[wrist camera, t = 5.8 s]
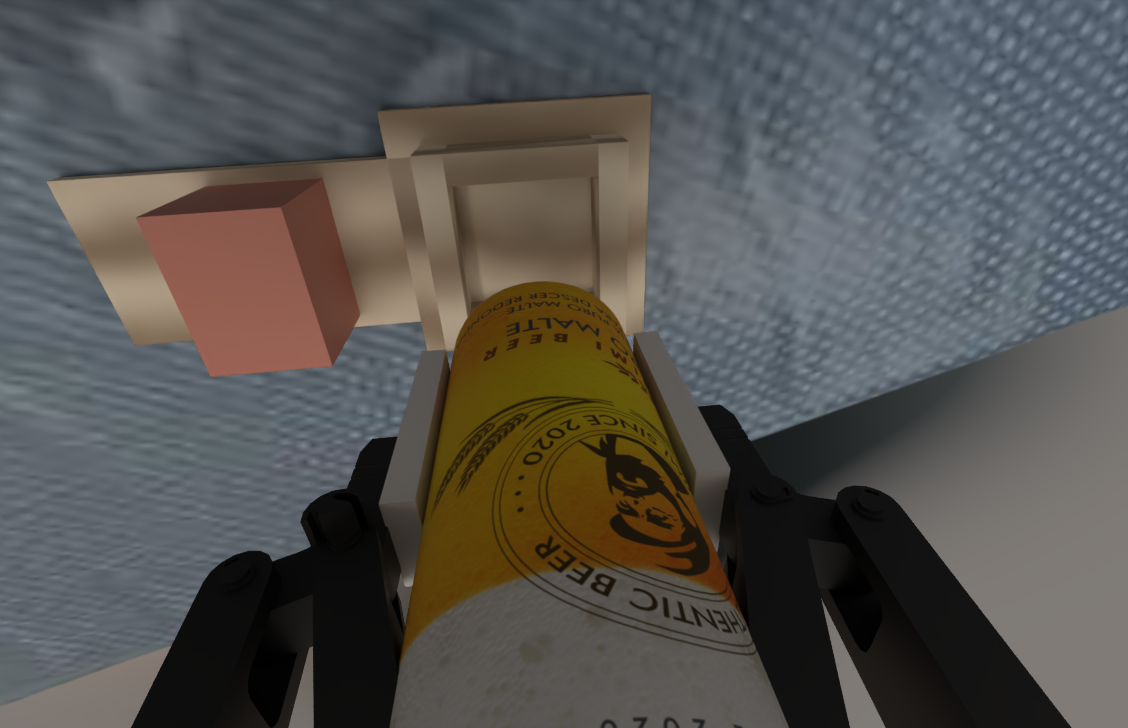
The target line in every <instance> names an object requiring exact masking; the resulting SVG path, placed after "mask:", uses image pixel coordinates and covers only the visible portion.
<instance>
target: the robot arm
mask: <svg viewBox="0 0 1128 728" xmlns="http://www.w3.org/2000/svg"><path fill="white" fill-rule="evenodd" d="M633 355H634V357H635V359H636V362H637V364H638V367H639V369H640V371H641V374H642V376H643V378H644V381H645V383H646V386H647V388H648V390H649V393H650V395H651V398H652V400H653V402H654V405H655V407H656V409H657V412H658V414H659V417H660V419H661V421H662V424H663V426H664V429H665V431H666V433H667V436H668V438H669V440H670V443H671V445H672V448H673V450H674V452H675V455H676V457H677V460H678V462H679V464H680V467H681V469H682V471H683V474H684V476H685V479H686V481H687V483H688V486H689V488H690V491H691V493H692V495H693V498H694V500H695V503H696V505H697V507H698V510H699V512H700V514H701V517H702V519H703V522H704V524H705V526H706V529H707V531H708V534H709V536H710V538H711V541H712V543H713V545H714V548H715V550H716V552H717V551H718V545H719V538H720V537H721V540H722V542H723V544H724V547H725V549H726V551H727V553H726V559H725V565H724V572H725V574H726V576H727V579H728V581H729V584H730V586H731V588H732V591H733V593H734V596H735V598H736V600H737V603H738V605H739V607H740V610H741V612H742V615H743V617H744V619H745V622H746V624H747V627H748V629H749V632H750V635H751V638H752V640H753V643H754V645H755V647H756V650H757V652H758V655H759V657H760V659H761V662H762V664H763V667H764V669H765V671H766V674H767V676H768V678H769V681H770V683H771V686H772V688H773V690H774V693H775V695H776V698H777V700H778V702H779V705H780V707H781V710H782V712H783V714H784V717H785V719H786V722H787V724H788V726H789V728H850V726H849V721H848V717H847V713H846V708H845V704H844V700H843V695H842V690H841V686H840V681H839V677H838V672H837V668H836V663H835V659H834V654H833V650H832V645H831V641H830V636H829V632H828V627H827V623H826V618H825V614H824V609H823V605H822V601H823V603H824V605H825V606H826V608H827V611H828V613H829V615H830V616H831V619H832V621H833V623H834V625H835V626H836V629H837V630H838V632H839V635H840V637H841V639H842V641H843V643H844V645H845V647H846V649H847V651H848V653H849V655H850V657H851V659H852V661H853V663H854V665H855V667H856V669H857V671H858V673H859V675H860V677H861V679H862V681H863V683H864V685H865V687H866V689H867V691H868V693H869V695H870V697H871V699H872V701H873V703H874V705H875V707H876V709H877V711H878V713H879V715H880V717H881V719H882V721H883V723H884V725H885V727H886V728H1071V727H1070V725H1069V724H1068V723H1067V722H1066V720H1065V719H1064V718H1063V716H1062V715H1061V714H1060V712H1059V711H1058V710H1057V709H1056V707H1055V706H1054V705H1053V703H1052V702H1051V701H1050V700H1049V698H1048V697H1047V696H1046V694H1045V693H1044V692H1043V690H1042V689H1041V688H1040V686H1039V685H1038V684H1037V683H1036V681H1035V680H1034V679H1033V677H1032V676H1031V675H1030V674H1029V672H1028V671H1027V670H1026V668H1025V667H1024V666H1023V664H1022V663H1021V662H1020V660H1019V659H1018V658H1017V657H1016V655H1015V654H1014V653H1013V651H1012V650H1011V649H1010V648H1009V646H1008V645H1007V644H1006V642H1005V641H1004V640H1003V638H1002V637H1001V636H1000V635H999V633H998V632H997V631H996V629H995V628H994V627H993V626H992V624H991V623H990V622H989V620H988V619H987V618H986V617H985V615H984V614H983V613H982V611H981V610H980V609H979V608H978V606H977V605H976V603H975V602H974V601H973V600H972V598H971V597H970V596H969V595H968V593H967V592H966V591H965V589H964V588H963V587H962V585H961V584H960V583H959V581H958V580H957V579H956V578H955V576H954V575H953V574H952V572H951V571H950V570H949V569H948V567H947V566H946V565H945V563H944V562H943V561H942V559H941V558H940V557H939V556H938V554H937V553H936V552H935V550H934V549H933V548H932V546H931V545H930V544H929V543H928V541H927V540H926V539H925V537H924V536H923V535H922V534H921V532H920V531H919V530H918V529H917V527H916V526H915V525H914V523H913V522H912V521H911V519H910V518H909V517H908V515H907V514H906V513H905V511H904V510H903V509H902V508H901V507H900V505H899V504H898V503H897V502H896V501H895V500H894V499H893V498H891V497H890V496H888V495H886V494H885V493H883V492H881V491H879V490H876V489H873V488H870V487H866V486H850V487H845V488H844V489H842V490H841V491H840V492H838V495H837V498H836V500H831V499H824V498H817V497H810V496H805V495H801V494H798V493H796V491H795V489H794V488H793V487H792V486H791V485H790V484H789V483H788V482H787V481H785V480H783V479H781V478H779V477H777V476H774V475H771V473H770V472H769V470H768V468H767V467H766V465H765V464H764V462H763V461H762V459H761V457H760V456H759V454H758V452H757V451H756V449H755V448H754V446H753V444H752V443H751V441H750V440H748V436H747V435H746V433H745V432H744V430H743V429H742V427H741V425H740V424H739V422H738V420H737V419H736V417H735V416H734V414H732V413H731V412H730V411H728V410H727V409H725V408H724V407H723V406H721V405H711V406H700V407H697V405H696V403H695V402H694V400H693V398H692V396H691V394H690V392H689V390H688V388H687V387H686V385H685V383H684V381H683V379H682V377H681V375H680V374H679V372H678V370H677V368H676V366H675V364H674V362H673V361H672V359H671V357H670V355H669V353H668V351H667V349H666V348H665V346H664V344H663V342H662V340H661V338H660V336H659V334H658V333H657V331H653V332H641V333H634V344H633ZM449 376H450V368H449V363H448V358H447V352H446V349H444V350H433V351H422V353H421V357H420V360H419V364H418V367H417V371H416V374H415V378H414V381H413V385H412V388H411V392H410V395H409V399H408V402H407V406H406V409H405V413H404V416H403V420H402V424H401V427H400V431H399V434H398V437H387V438H377V439H372V440H371V441H370V442H369V443H368V444H367V445H366V446H365V448H364V449H363V450H362V451H361V452H360V454H359V457H358V460H357V463H356V465H355V469H354V471H353V473H352V476H351V480H350V482H349V484H348V487H347V489H340V490H335V491H331V492H329V493H327V494H324V495H322V496H320V497H319V498H317V499H316V500H315V501H313V502H312V503H310V505H309V506H308V507H307V508H306V510H305V511H304V512H303V515H302V518H301V521H300V522H301V524H302V527H303V529H304V531H305V533H306V536H307V538H308V540H309V542H310V545H311V547H309V548H307V549H305V550H303V551H300V552H298V553H295V554H292V555H289V556H287V557H284V558H281V559H278V560H275V561H273V562H272V560H271V558H270V556H269V555H268V554H266V553H264V552H262V551H247V552H243V553H240V554H236V555H234V556H232V557H230V558H229V559H227V560H225V561H223V562H222V563H220V564H219V565H218V566H217V567H216V568H214V569H213V570H212V571H211V572H210V573H209V575H208V576H207V578H206V579H205V580H204V582H203V584H202V586H201V588H200V590H199V592H198V594H197V596H196V598H195V600H194V602H193V604H192V606H191V608H190V610H189V612H188V614H187V616H186V618H185V620H184V622H183V624H182V626H181V628H180V630H179V632H178V634H177V636H176V638H175V640H174V642H173V644H172V646H171V648H170V650H169V652H168V654H167V656H166V658H165V660H164V662H163V664H162V666H161V668H160V670H159V672H158V674H157V676H156V678H155V680H154V682H153V685H152V686H151V688H150V690H149V692H148V694H147V696H146V698H145V701H144V702H143V705H142V707H141V708H140V711H139V713H138V715H137V717H136V719H135V721H134V723H133V725H132V727H131V728H288V726H289V722H290V719H291V715H292V711H293V707H294V703H295V700H296V696H297V692H298V688H299V684H300V681H301V677H302V673H303V669H304V665H305V662H306V658H307V654H308V650H309V647H312V646H313V683H314V684H313V686H314V687H313V688H314V689H313V691H314V692H313V693H314V728H390V722H391V716H392V711H393V705H394V699H395V693H396V687H397V682H398V667H399V659H400V654H401V648H402V642H403V637H404V631H405V623H404V618H403V612H402V606H401V601H400V598H399V595H398V592H397V588H398V583H399V578H400V573H401V575H402V579H403V582H404V585H405V587H407V586H413V580H414V574H415V569H416V563H417V557H418V552H419V546H420V540H421V535H422V529H423V523H424V518H425V512H426V506H427V501H428V495H429V489H430V484H431V478H432V473H433V467H434V461H435V456H436V450H437V444H438V439H439V433H440V427H441V422H442V416H443V410H444V405H445V399H446V393H447V388H448V382H449ZM821 599H822V600H821Z"/></svg>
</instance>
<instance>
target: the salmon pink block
mask: <svg viewBox="0 0 1128 728" xmlns="http://www.w3.org/2000/svg"><path fill="white" fill-rule="evenodd" d="M136 220H137V222H138V224H139V226H140V228H141V230H142V233H143V235H144V237H145V239H146V241H147V243H148V245H149V247H150V249H151V252H152V254H153V256H154V258H155V260H156V262H157V264H158V266H159V268H160V271H161V273H162V275H163V277H164V279H165V281H166V283H167V285H168V288H169V290H170V292H171V294H172V296H173V298H174V300H175V302H176V304H177V307H178V309H179V311H180V313H181V315H182V317H183V319H184V321H185V324H186V326H187V328H188V330H189V332H190V334H191V336H192V338H193V340H194V343H195V345H196V347H197V349H198V351H199V353H200V355H201V357H202V359H203V362H204V364H205V366H206V368H207V370H208V372H209V374H210V376H211V377H214V376H225V375H236V374H248V373H259V372H271V371H282V370H293V369H305V368H316V367H327V366H333V364H334V362H335V360H336V359H337V357H338V355H339V353H340V351H341V350H342V348H343V346H344V344H345V342H346V341H347V339H348V337H349V335H350V333H351V332H352V330H353V328H354V326H355V324H356V323H357V321H358V319H359V317H360V311H359V308H358V304H357V301H356V297H355V293H354V290H353V286H352V282H351V279H350V275H349V272H348V268H347V264H346V261H345V257H344V253H343V250H342V246H341V243H340V239H339V235H338V232H337V228H336V224H335V221H334V217H333V214H332V210H331V206H330V203H329V199H328V196H327V192H326V188H325V185H324V181H323V178H321V179H306V180H292V181H277V182H262V183H247V184H233V185H218V186H205V187H203V188H201V189H198V190H196V191H194V192H192V193H189V194H187V195H185V196H183V197H180V198H178V199H176V200H174V201H171V202H169V203H167V204H165V205H163V206H160V207H158V208H156V209H154V210H151V211H149V212H147V213H145V214H142V215H140V216H138V217H136Z"/></svg>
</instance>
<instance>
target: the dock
mask: <svg viewBox="0 0 1128 728" xmlns="http://www.w3.org/2000/svg"><path fill="white" fill-rule="evenodd" d="M377 115H378V120H379V124H380V129H381V134H382V139H383V143H384V148H385V153H386V156H378V157H362V158H347V159H332V160H317V161H302V162H287V163H272V164H256V165H241V166H226V167H211V168H196V169H181V170H166V171H150V172H135V173H120V174H105V175H90V176H75V177H60V178H57V179H53V180H50V181H46V182H47V184H48V186H49V187H50V189H51V191H52V193H53V195H54V197H55V199H56V200H57V202H58V204H59V206H60V208H61V210H62V211H63V213H64V215H65V217H66V219H67V221H68V223H69V224H70V226H71V228H72V230H73V232H74V234H75V235H76V237H77V239H78V241H79V243H80V245H81V247H82V248H83V250H84V252H85V254H86V256H87V258H88V259H89V261H90V263H91V265H92V267H93V269H94V271H95V272H96V274H97V276H98V278H99V280H100V282H101V283H102V285H103V287H104V289H105V291H106V293H107V295H108V296H109V298H110V300H111V302H112V304H113V306H114V307H115V309H116V311H117V313H118V315H119V317H120V319H121V320H122V322H123V324H124V326H125V328H126V330H127V331H128V333H129V335H130V337H131V339H132V341H133V343H134V344H135V345H146V344H158V343H170V342H182V341H194V340H193V338H192V336H191V334H190V332H189V330H188V328H187V326H186V324H185V321H184V319H183V317H182V315H181V313H180V311H179V309H178V307H177V304H176V302H175V300H174V298H173V296H172V294H171V292H170V290H169V288H168V285H167V283H166V281H165V279H164V277H163V275H162V273H161V271H160V268H159V266H158V264H157V262H156V260H155V258H154V256H153V254H152V252H151V249H150V247H149V245H148V243H147V241H146V239H145V237H144V235H143V233H142V230H141V228H140V226H139V224H138V222H137V220H136V217H138V216H140V215H142V214H145V213H147V212H149V211H151V210H154V209H156V208H158V207H160V206H163V205H165V204H167V203H169V202H171V201H174V200H176V199H178V198H180V197H183V196H185V195H187V194H189V193H192V192H194V191H196V190H198V189H201V188H203V187H205V186H218V185H233V184H247V183H262V182H277V181H292V180H306V179H321V178H323V181H324V185H325V188H326V192H327V196H328V199H329V203H330V206H331V210H332V214H333V217H334V221H335V224H336V228H337V232H338V235H339V239H340V243H341V246H342V250H343V253H344V257H345V261H346V264H347V268H348V272H349V275H350V279H351V282H352V286H353V290H354V293H355V297H356V301H357V304H358V308H359V311H360V317H359V319H358V321H357V323H356V324H355V326H354V327H360V326H372V325H384V324H396V323H408V322H420V321H421V323H422V328H423V333H424V338H425V342H426V347H427V351H433V350H444V349H446V351H454V348H455V344H456V340H457V337H458V334H459V332H460V329H461V328H462V326H463V324H464V322H465V321H466V319H467V318H468V316H469V315H470V314H471V313H472V312H473V311H474V309H475V308H476V307H477V306H478V305H480V304H481V303H482V302H483V301H484V300H486V299H487V298H489V297H490V296H492V295H493V294H495V293H497V292H499V291H501V290H503V289H506V288H508V287H511V286H514V285H518V284H522V283H527V282H534V281H552V282H560V283H565V284H569V285H573V286H576V287H579V288H581V289H583V290H585V291H587V292H589V293H591V294H592V295H594V296H596V297H597V298H598V299H600V300H601V301H602V302H604V303H605V304H606V305H607V306H608V307H609V308H610V309H611V311H612V312H613V313H614V314H615V316H616V317H617V319H618V321H619V322H620V324H621V326H622V328H623V331H624V333H625V336H627V335H634V333H641V332H643V322H644V293H645V265H646V236H647V207H648V179H649V150H650V121H651V94H647V93H645V94H628V95H612V96H595V97H579V98H563V99H546V100H530V101H514V102H497V103H481V104H464V105H448V106H432V107H415V108H399V109H382V110H379V111H377Z"/></svg>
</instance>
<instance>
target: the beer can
mask: <svg viewBox="0 0 1128 728" xmlns="http://www.w3.org/2000/svg"><path fill="white" fill-rule="evenodd" d="M390 728H789V726H788V724H787V722H786V719H785V717H784V714H783V712H782V710H781V707H780V705H779V702H778V700H777V698H776V695H775V693H774V690H773V688H772V686H771V683H770V681H769V678H768V676H767V674H766V671H765V669H764V667H763V664H762V662H761V659H760V657H759V655H758V652H757V650H756V647H755V645H754V643H753V640H752V638H751V635H750V632H749V629H748V627H747V624H746V622H745V619H744V617H743V615H742V612H741V610H740V607H739V605H738V603H737V600H736V598H735V596H734V593H733V591H732V588H731V586H730V584H729V581H728V579H727V576H726V574H725V572H724V569H723V567H722V565H721V562H720V560H719V558H718V555H717V553H716V550H715V548H714V545H713V543H712V541H711V538H710V536H709V534H708V531H707V529H706V526H705V524H704V522H703V519H702V517H701V514H700V512H699V510H698V507H697V505H696V503H695V500H694V498H693V495H692V493H691V491H690V488H689V486H688V483H687V481H686V479H685V476H684V474H683V471H682V469H681V467H680V464H679V462H678V460H677V457H676V455H675V452H674V450H673V448H672V445H671V443H670V440H669V438H668V436H667V433H666V431H665V429H664V426H663V424H662V421H661V419H660V417H659V414H658V412H657V409H656V407H655V405H654V402H653V400H652V398H651V395H650V393H649V390H648V388H647V386H646V383H645V381H644V378H643V376H642V374H641V371H640V369H639V367H638V364H637V362H636V359H635V357H634V355H633V352H632V350H631V347H630V345H629V343H628V340H627V338H626V336H625V333H624V331H623V328H622V326H621V324H620V322H619V321H618V319H617V317H616V316H615V314H614V313H613V312H612V311H611V309H610V308H609V307H608V306H607V305H606V304H605V303H604V302H602V301H601V300H600V299H598V298H597V297H596V296H594V295H592V294H591V293H589V292H587V291H585V290H583V289H581V288H579V287H576V286H573V285H569V284H565V283H560V282H552V281H534V282H527V283H522V284H518V285H514V286H511V287H508V288H506V289H503V290H501V291H499V292H497V293H495V294H493V295H492V296H490V297H489V298H487V299H486V300H484V301H483V302H482V303H481V304H480V305H478V306H477V307H476V308H475V309H474V311H473V312H472V313H471V314H470V315H469V316H468V318H467V319H466V321H465V322H464V324H463V326H462V328H461V329H460V332H459V334H458V337H457V340H456V344H455V348H454V354H453V359H452V365H451V371H450V376H449V382H448V388H447V393H446V399H445V405H444V410H443V416H442V422H441V427H440V433H439V439H438V444H437V450H436V456H435V461H434V467H433V473H432V478H431V484H430V489H429V495H428V501H427V506H426V512H425V518H424V523H423V529H422V535H421V540H420V546H419V552H418V557H417V563H416V569H415V574H414V580H413V586H412V591H411V597H410V603H409V608H408V614H407V620H406V625H405V631H404V637H403V642H402V648H401V654H400V659H399V667H398V682H397V687H396V693H395V699H394V705H393V711H392V716H391V722H390Z"/></svg>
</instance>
